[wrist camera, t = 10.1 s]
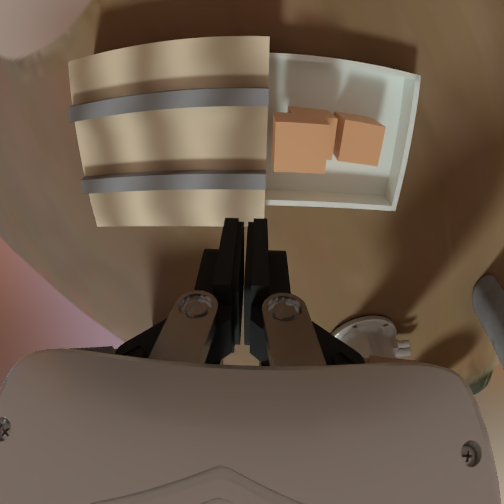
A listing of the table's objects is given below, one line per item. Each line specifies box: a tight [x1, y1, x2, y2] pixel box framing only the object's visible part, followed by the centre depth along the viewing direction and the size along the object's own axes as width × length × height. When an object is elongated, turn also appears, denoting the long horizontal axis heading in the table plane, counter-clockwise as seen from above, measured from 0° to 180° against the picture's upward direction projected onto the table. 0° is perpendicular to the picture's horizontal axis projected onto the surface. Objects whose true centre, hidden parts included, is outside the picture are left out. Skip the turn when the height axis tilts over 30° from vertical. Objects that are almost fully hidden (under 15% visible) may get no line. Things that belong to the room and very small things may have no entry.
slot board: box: [67, 36, 270, 227], centre depth 26 cm, size 18×18×6 cm
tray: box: [265, 53, 421, 211], centre depth 28 cm, size 15×15×3 cm
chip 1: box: [272, 112, 330, 174], centre depth 23 cm, size 4×4×4 cm
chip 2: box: [287, 106, 338, 160], centre depth 27 cm, size 4×4×4 cm
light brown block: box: [333, 111, 386, 166], centre depth 27 cm, size 4×4×4 cm
